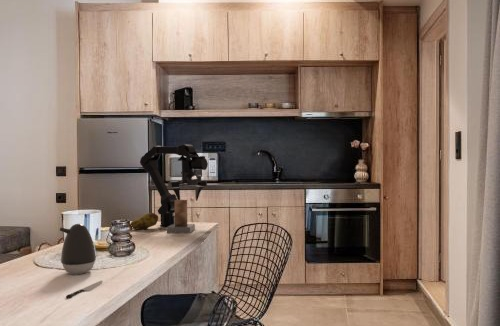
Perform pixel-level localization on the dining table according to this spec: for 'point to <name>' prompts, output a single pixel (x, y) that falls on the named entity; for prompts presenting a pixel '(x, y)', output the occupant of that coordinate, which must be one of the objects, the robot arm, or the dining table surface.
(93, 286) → the chef's knife
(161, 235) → the dining table surface
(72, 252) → the pump dispenser
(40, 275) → the dining table surface
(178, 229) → the slate base
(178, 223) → the walnut cylinder
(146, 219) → the green bumpy oblong piece
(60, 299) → the dining table surface
